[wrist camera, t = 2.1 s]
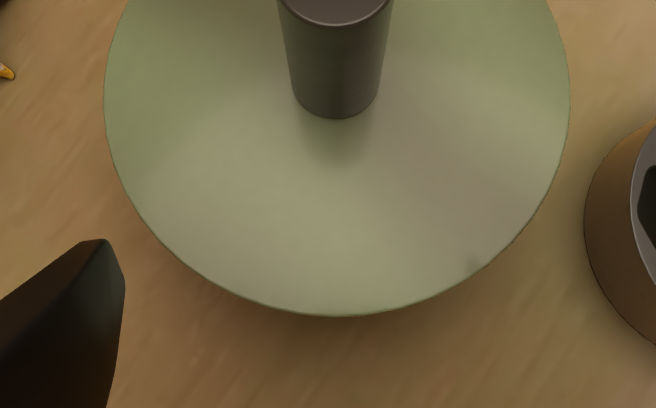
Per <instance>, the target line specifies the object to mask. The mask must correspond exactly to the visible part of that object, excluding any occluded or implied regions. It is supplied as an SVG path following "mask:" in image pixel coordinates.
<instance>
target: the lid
mask: <svg viewBox="0 0 656 408" xmlns="http://www.w3.org/2000/svg"><path fill="white" fill-rule="evenodd" d="M570 109H571V106H570V77H569V71H568V65H567V59H566V53H565V49H564V46H563V43H562V39H561V36H560V33H559V30H558V27H557V24H556V22H555V19H554V17H553V15H552V13H551V11H550V9H549V7H548V5H547V3H546V0H129V1H128V3H127V5H126V8H125V10H124V12H123V14H122V16H121V18H120V20H119V22H118V24H117V27H116V31H115V34H114V37H113V40H112V43H111V46H110V49H109V53H108V59H107V65H106V71H105V76H104V96H103V111H104V121H105V130H106V138H107V142H108V145H109V149H110V153H111V157H112V161H113V165H114V167H115V170H116V172H117V175H118V177H119V179H120V182H121V184H122V187H123V189H124V191H125V193H126V195H127V197H128V198H129V200H130V202H131V203H132V205H133V207H134V209H135V210H136V212H137V214H138V215H139V217H140V218H141V220H142V221H143V222H144V223H145V225H146V226H147V227H148V228H149V230H150V231H151V232H152V233H153V235H154V236H155V237H156V238H157V240H158V241H159V242H160V243H161V244H162V245H163V246H164V247H165V248H166V249H167V250H168V251H170V252H171V253H172V254H173V255H174V256H175V257H176V258H177V259H178V260H179V261H180V262H181V263H182V264H184V265H185V266H187V267H188V268H189V269H191V270H192V271H194V272H195V273H196V274H198V275H199V276H201V277H202V278H204V279H205V280H206V281H208V282H209V283H211V284H213V285H215V286H217V287H219V288H221V289H223V290H225V291H227V292H229V293H231V294H233V295H235V296H237V297H239V298H242V299H245V300H247V301H250V302H253V303H256V304H259V305H261V306H264V307H267V308H270V309H275V310H280V311H285V312H289V313H294V314H299V315H306V316H320V317H334V318H336V317H352V316H368V315H373V314H378V313H383V312H388V311H393V310H398V309H402V308H405V307H408V306H411V305H414V304H416V303H419V302H422V301H425V300H428V299H431V298H433V297H435V296H437V295H439V294H441V293H443V292H445V291H447V290H449V289H451V288H453V287H455V286H457V285H459V284H461V283H463V282H464V281H466V280H467V279H469V278H470V277H472V276H473V275H475V274H476V273H478V272H479V271H480V270H482V269H483V268H485V267H486V266H488V265H489V264H490V263H491V262H492V261H493V260H494V259H496V258H497V257H498V256H499V255H500V254H501V253H502V252H503V251H504V250H505V249H506V248H508V247H509V246H510V245H511V244H512V243H513V242H514V240H515V239H516V238H517V237H518V236H519V234H520V233H521V232H522V231H523V229H524V228H525V227H526V226H527V225H528V223H529V222H530V221H531V220H532V218H533V217H534V215H535V213H536V212H537V210H538V208H539V207H540V205H541V203H542V202H543V200H544V199H545V197H546V195H547V194H548V191H549V189H550V187H551V184H552V182H553V180H554V177H555V175H556V173H557V170H558V168H559V166H560V162H561V158H562V155H563V151H564V147H565V143H566V140H567V134H568V126H569V117H570Z"/></svg>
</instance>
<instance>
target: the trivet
mask: <svg viewBox="0 0 656 408" xmlns="http://www.w3.org/2000/svg"><path fill="white" fill-rule="evenodd" d="M654 164H656V118H655V119H653V120H652V121H650V122H649V123H647V124H645V125H644V126H642V127H641V128H639V129H638V130H636V131H635V132H633V133H632V134H630V135H629V136H627V137H626V138H624V139H623V140H622V141H621V142H620V143H619V144H618V145H617V146H615V147H614V148H613V149H612V150H611V152H610V153H609V154H608V155H607V156H606V158H605V159H604V160H603V162H602V163H601V165H600V167H599V168H598V170H597V172H596V173H595V176H594V178H593V180H592V183H591V185H590V188H589V192H588V196H587V200H586V205H585V215H584V233H585V240H586V247H587V252H588V255H589V259H590V262H591V265H592V268H593V271H594V273H595V275H596V277H597V280H598V282H599V284H600V286H601V287H602V289H603V291H604V292H605V294H606V296H607V297H608V299H609V300H610V302H611V303H612V304H613V306H614V307H615V308H616V310H617V311H618V312H619V313H620V314H621V315H622V316H623V318H624V319H625V320H626V321H627V322H628V323H629V324H630V325H631V326H632V327H633V328H635V329H636V330H637V331H638V332H640V333H641V334H642V335H643V336H644V337H646V338H647V339H649V340H650V341H652V342H653V343H655V344H656V250H655V248H654V246H653V244H652V243H651V241H650V239H649V237H648V236H647V234H646V232H645V230H644V229H643V227H642V225H641V223H640V221H639V219H638V216H637V204H638V200H639V196H640V191H641V187H642V183H643V179H644V175H645V172H646V170H647V169H648V168H649V167H650V166H651V165H654Z"/></svg>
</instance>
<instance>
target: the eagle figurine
mask: <svg viewBox="0 0 656 408" xmlns="http://www.w3.org/2000/svg"><path fill="white" fill-rule="evenodd" d="M0 76H1V77H6V78H9V79H11V80H12V79H13V78H14V74H13V72H12V71H11V70H10V69H9V68H7V67H6V66H4V65H3V64H2V63H1V62H0Z"/></svg>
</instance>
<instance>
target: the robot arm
mask: <svg viewBox="0 0 656 408" xmlns="http://www.w3.org/2000/svg"><path fill="white" fill-rule="evenodd" d="M637 216H638V219H639V221H640V223H641V225H642V227H643V229H644V230H645V232H646V234H647V236H648V237H649V239H650V241H651V243H652V244H653V246H654V248H655V250H656V164H654V165H651V166H650V167H649V168H648V169H647V170H646V172H645V175H644V179H643V183H642V187H641V191H640V196H639V200H638V204H637ZM124 298H125V280H124V276H123V273H122V271H121V268H120V266H119V263H118V261H117V258H116V256H115V253H114V251H113V248H112V246H111V244H110V243H109V242H108V241H107V240H106V239H95V240H87V241H82V242H79V243H78V244H77V245H75V246H74V247H72V248H71V249H70V250H68V251H67V252H66V253H64V254H63V255H62V256H60V257H59V258H57V259H56V260H55V261H53V262H52V263H51V264H49V265H48V266H47V267H45V268H44V269H42V270H41V271H40V272H38V273H37V274H36V275H34V276H33V277H32V278H30V279H29V280H27V281H26V282H25V283H23V284H22V285H21V286H19V287H18V288H17V289H15V290H14V291H12V292H11V293H10V294H8V295H7V296H6V297H4V298H3V299H2V300H0V408H106V405H107V401H108V398H109V394H110V390H111V386H112V381H113V377H114V372H115V367H116V360H117V353H118V345H119V337H120V329H121V322H122V314H123V306H124Z"/></svg>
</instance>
